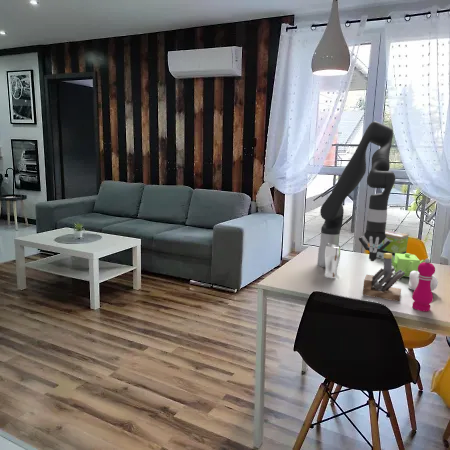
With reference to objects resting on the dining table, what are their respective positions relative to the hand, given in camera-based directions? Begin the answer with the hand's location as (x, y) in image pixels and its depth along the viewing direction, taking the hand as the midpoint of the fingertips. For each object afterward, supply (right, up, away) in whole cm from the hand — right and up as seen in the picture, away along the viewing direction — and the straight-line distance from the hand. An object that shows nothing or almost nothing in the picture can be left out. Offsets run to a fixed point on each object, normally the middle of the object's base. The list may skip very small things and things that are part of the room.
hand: (372, 260), depth 175 cm
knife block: (+4, -14, +1) cm, 15 cm away
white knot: (+23, -14, +7) cm, 28 cm away
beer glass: (-12, -10, +22) cm, 27 cm away
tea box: (+29, -4, +58) cm, 65 cm away
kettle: (+25, -10, +27) cm, 38 cm away
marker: (+6, -9, -1) cm, 11 cm away
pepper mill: (+14, -18, -13) cm, 26 cm away
